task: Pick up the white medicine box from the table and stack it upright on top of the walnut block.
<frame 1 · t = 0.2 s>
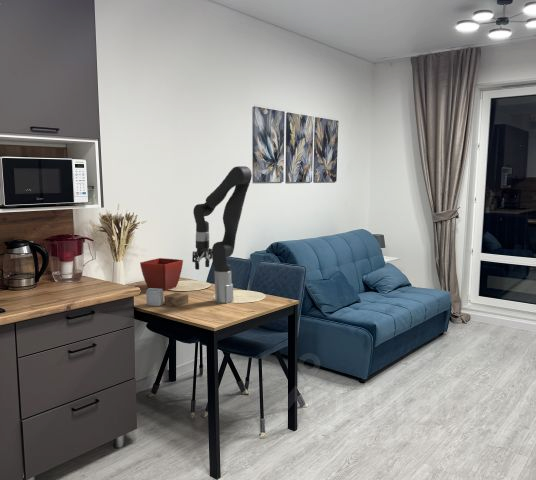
hand: (202, 268, 274), 17 cm above the table, tool pointing down, fingers open, 8 cm apart
plant pot: (162, 288, 302), on the table
walnut block: (176, 304, 265), on the table
medicine box: (155, 305, 263), on the table
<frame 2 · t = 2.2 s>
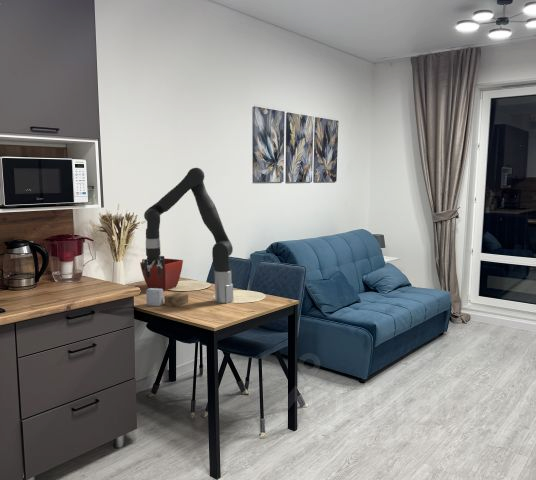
hand: (154, 276, 261), 15 cm above the table, tool pointing down, fingers open, 8 cm apart
nothing on the table moved.
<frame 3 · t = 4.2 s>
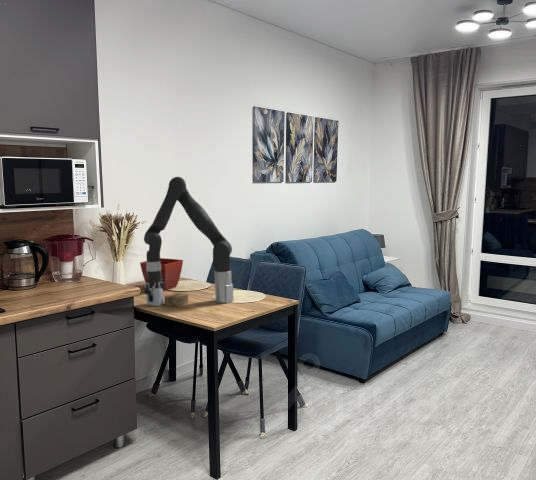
hand: (155, 300, 263), 2 cm above the table, tool pointing down, fingers closed on medicine box, 5 cm apart
medicine box: (155, 305, 263), on the table, touching gripper
everything else where it was.
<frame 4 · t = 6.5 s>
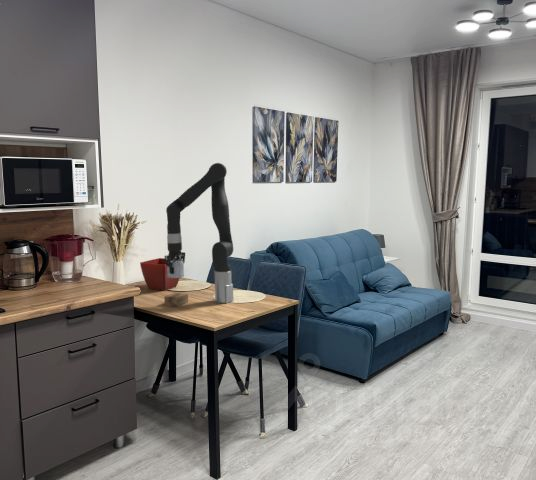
hand: (175, 272, 262), 17 cm above the table, tool pointing down, fingers closed on medicine box, 5 cm apart
medicine box: (175, 277, 263), point 14 cm above the table, touching gripper
everything else where it was.
when the fingers open (8 cm above the table, at t = 9.0 s): medicine box drops 1 cm, resting on walnut block.
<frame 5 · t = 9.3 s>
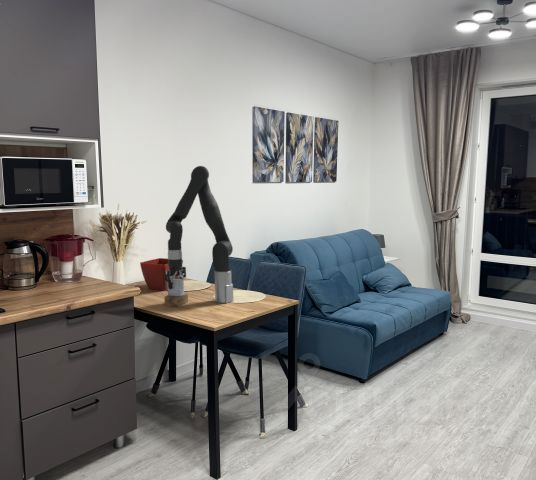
hand: (176, 287, 263), 9 cm above the table, tool pointing down, fingers open, 8 cm apart
walnut block: (176, 304, 265), on the table, touching medicine box
medicine box: (176, 295, 264), point 4 cm above the table, touching walnut block
everything else where it was.
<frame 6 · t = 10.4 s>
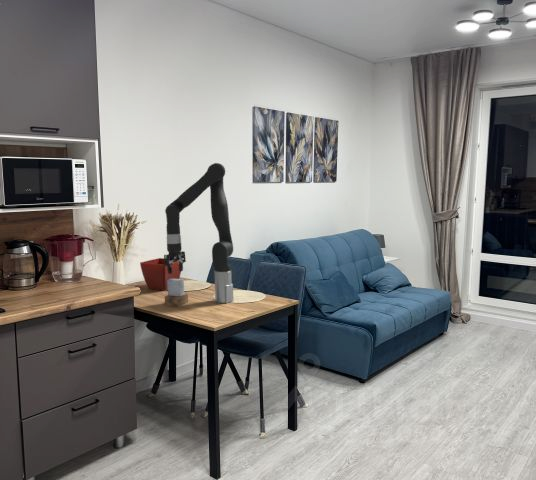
hand: (175, 272, 262), 18 cm above the table, tool pointing down, fingers open, 8 cm apart
nothing on the table moved.
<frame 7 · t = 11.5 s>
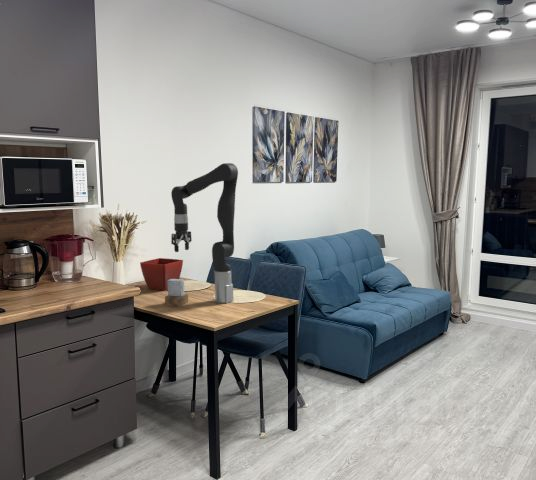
hand: (181, 250, 275), 27 cm above the table, tool pointing down, fingers open, 8 cm apart
nothing on the table moved.
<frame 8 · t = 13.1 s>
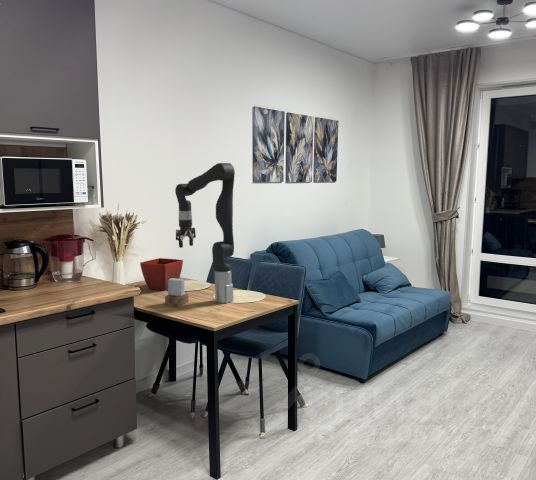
hand: (186, 246, 282), 28 cm above the table, tool pointing down, fingers open, 8 cm apart
nothing on the table moved.
at the end: medicine box inside the target area on the walnut block (0.3 cm from its centre), point 4.8 cm above the walnut block's base; medicine box tilted 0°; the gripper is holding nothing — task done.
